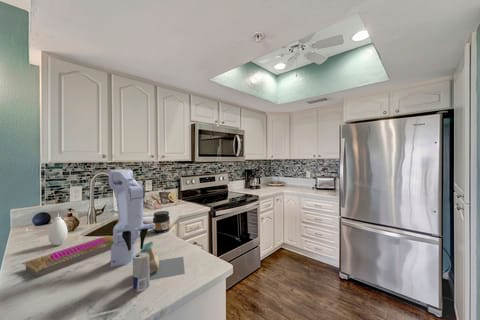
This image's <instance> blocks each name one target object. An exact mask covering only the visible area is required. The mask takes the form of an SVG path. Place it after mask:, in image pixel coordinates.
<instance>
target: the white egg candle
mask: <svg viewBox="0 0 480 320" xmlns="http://www.w3.org/2000/svg"><path fill="white" fill-rule="evenodd" d="M68 232H69V231H68V226H67V224H66V222H65V220H64V219H62V216H60V214H59V212H57V217H55V218H54V220H53V221H52V222H51V225H50V226H49V228H48V235H47V238H48V241H49V242H50V245H53V246H61V245H62V244H63V243H64V242H65V241H66V240H67V237H68V234H69V233H68Z"/></svg>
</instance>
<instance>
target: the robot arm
mask: <svg viewBox="0 0 480 320" xmlns="http://www.w3.org/2000/svg"><path fill="white" fill-rule="evenodd" d="M108 184H109V185H108V186H109V188H110V189H112V190H113V191H114V194H115V201H116V207H117V215H118V222H117V223H116V224H115V225H114V226H113V229H112V237H113V241H114V244H113V245H112V247H111V250H110V266H109V267H118V266H122V265H130V264H133V257H134V255H135V254H136V242H137V239H138V238H140V247H139V249H140V250H141V249H142V248H143V245H144V244H145V243H144V242H145V240H146V239H145V238H146V236H147V233H148V231H149V230H153V229H155V223H153V222H152V223H144V199H145V197H146V189H145V186H144V184H139V183H138V181H137V180H136V179H135V178H134V172H133V170H132V169H131V168H129V169H110V170H109V171H108Z"/></svg>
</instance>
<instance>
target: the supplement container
mask: <svg viewBox="0 0 480 320" xmlns="http://www.w3.org/2000/svg"><path fill="white" fill-rule="evenodd" d="M170 219H171V217H170V212H169V211H168V210H160V211H156V212H153V218H152V224H153V223H155V229H152V231H153V233H156V234H157V233H159V234H161V233H165V232H168V231H169V230H170V229H171V226H170V225H171V224H170V221H171V220H170Z"/></svg>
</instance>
